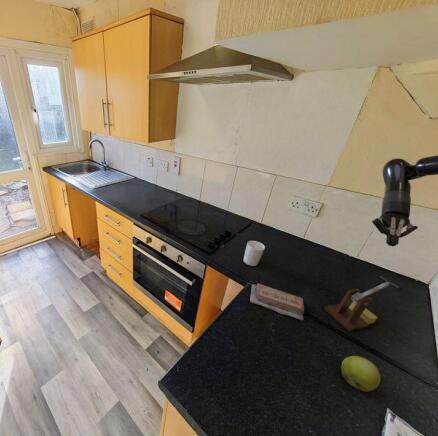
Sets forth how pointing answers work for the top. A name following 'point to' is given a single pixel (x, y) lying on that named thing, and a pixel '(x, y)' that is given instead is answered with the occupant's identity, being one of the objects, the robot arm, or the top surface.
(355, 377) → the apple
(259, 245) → the white cup
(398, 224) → the robot arm
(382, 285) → the grey t-shaped tool
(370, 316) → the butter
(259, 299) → the packaged product
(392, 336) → the top surface
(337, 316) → the brown pronged stand
